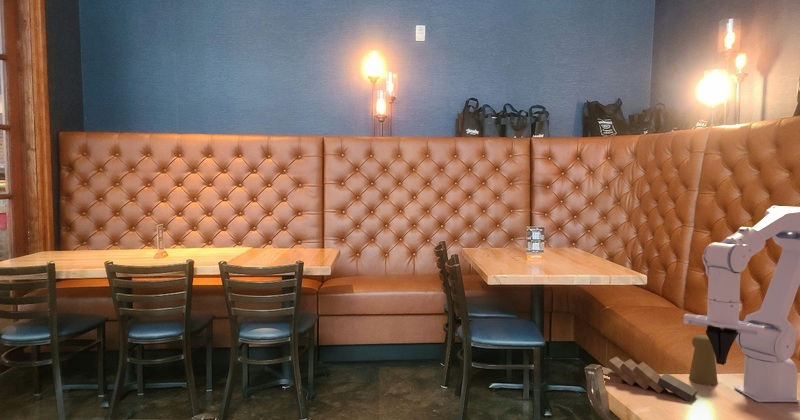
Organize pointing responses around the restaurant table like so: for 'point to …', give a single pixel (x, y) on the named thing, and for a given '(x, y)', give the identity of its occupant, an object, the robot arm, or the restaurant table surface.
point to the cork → (703, 362)
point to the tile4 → (619, 370)
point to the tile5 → (612, 375)
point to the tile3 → (629, 368)
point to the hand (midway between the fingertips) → (721, 363)
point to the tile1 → (677, 387)
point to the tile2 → (648, 376)
